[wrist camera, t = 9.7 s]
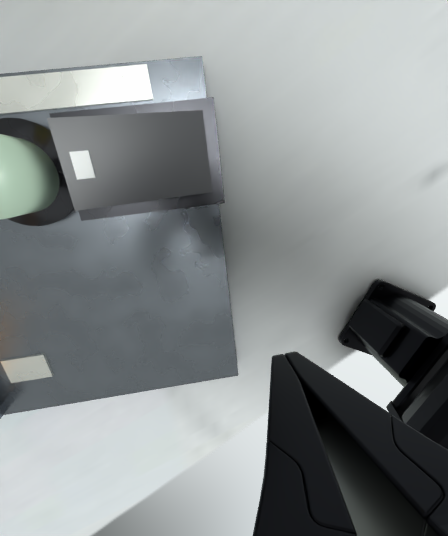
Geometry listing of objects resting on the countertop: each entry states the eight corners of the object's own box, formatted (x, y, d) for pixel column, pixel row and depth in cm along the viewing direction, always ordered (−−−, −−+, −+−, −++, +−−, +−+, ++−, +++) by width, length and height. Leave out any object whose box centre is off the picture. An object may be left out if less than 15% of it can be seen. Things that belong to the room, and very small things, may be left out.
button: (45, 133, 13) (13, 124, 11) (68, 207, 15) (44, 213, 12) (-32, 141, 13) (-81, 134, 11) (-2, 216, 15) (-40, 224, 12)
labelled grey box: (197, 115, 14) (203, 109, 13) (207, 191, 16) (213, 192, 14) (54, 123, 12) (45, 117, 11) (79, 208, 14) (74, 211, 13)
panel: (206, 66, 16) (209, 35, 12) (238, 362, 23) (246, 395, 20) (-174, 101, 14) (-292, 77, 11) (-8, 403, 22) (-46, 446, 18)
